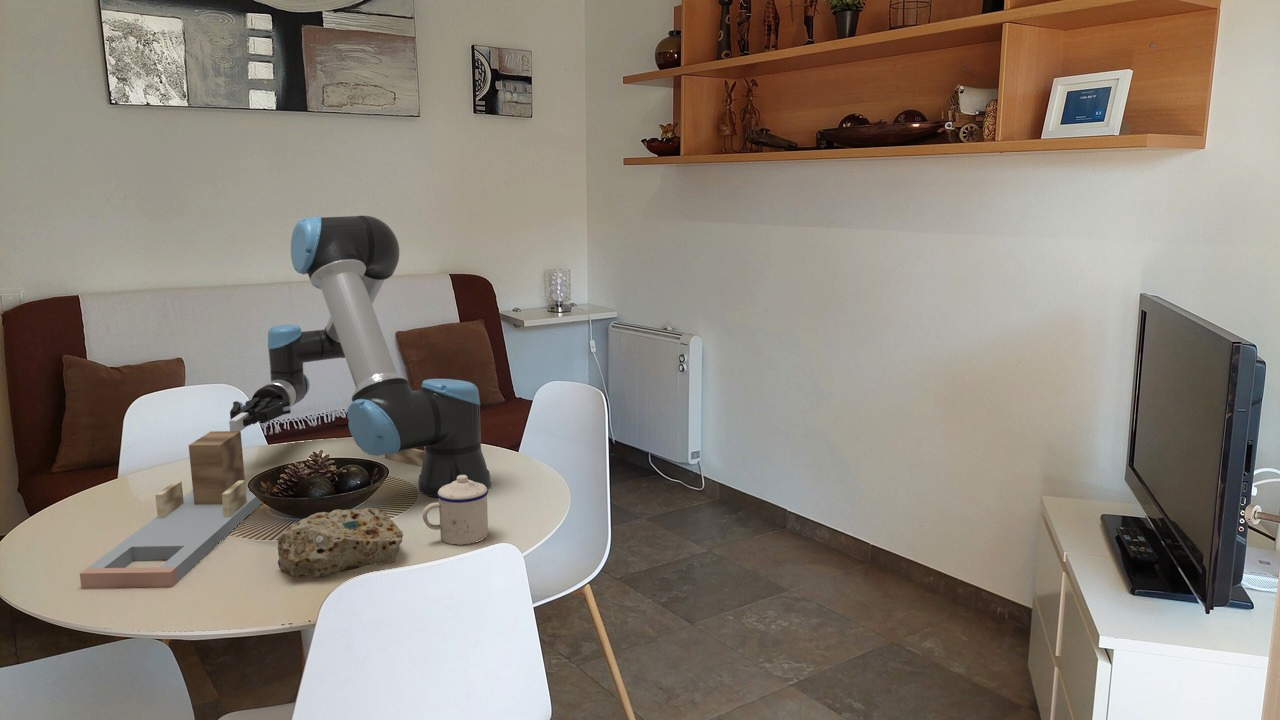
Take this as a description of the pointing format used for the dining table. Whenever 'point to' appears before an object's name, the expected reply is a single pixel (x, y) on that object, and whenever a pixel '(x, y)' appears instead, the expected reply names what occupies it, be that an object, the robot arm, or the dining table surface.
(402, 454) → the oak coaster frame
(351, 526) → the rock
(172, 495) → the beech tunnel walls
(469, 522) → the teacup with lid
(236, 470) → the walnut block
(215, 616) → the dining table surface
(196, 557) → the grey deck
